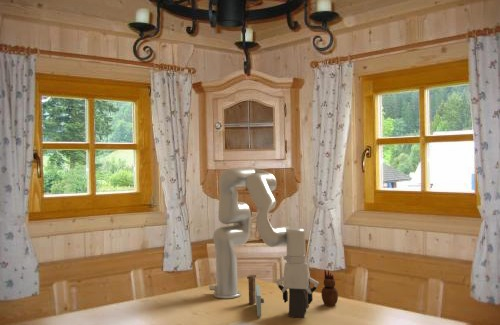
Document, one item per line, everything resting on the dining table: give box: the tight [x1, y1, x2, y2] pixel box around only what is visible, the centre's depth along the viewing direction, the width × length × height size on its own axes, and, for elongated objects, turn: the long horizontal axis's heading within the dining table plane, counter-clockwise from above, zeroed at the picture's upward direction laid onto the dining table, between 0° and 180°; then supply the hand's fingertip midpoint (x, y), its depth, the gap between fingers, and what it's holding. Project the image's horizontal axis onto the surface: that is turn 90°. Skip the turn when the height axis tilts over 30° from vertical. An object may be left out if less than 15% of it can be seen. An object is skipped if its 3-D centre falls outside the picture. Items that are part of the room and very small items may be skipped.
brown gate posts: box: [246, 274, 310, 309], centre depth 220 cm, size 26×4×12 cm, turn 71°
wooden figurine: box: [321, 269, 339, 307], centre depth 219 cm, size 7×6×15 cm
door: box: [255, 284, 265, 317], centre depth 213 cm, size 18×3×8 cm, turn 1°
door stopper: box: [288, 289, 307, 319], centre depth 208 cm, size 9×6×12 cm, turn 168°
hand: (297, 302), depth 207 cm, fingers open, 9 cm apart
